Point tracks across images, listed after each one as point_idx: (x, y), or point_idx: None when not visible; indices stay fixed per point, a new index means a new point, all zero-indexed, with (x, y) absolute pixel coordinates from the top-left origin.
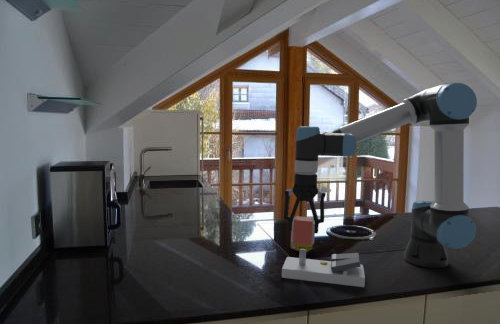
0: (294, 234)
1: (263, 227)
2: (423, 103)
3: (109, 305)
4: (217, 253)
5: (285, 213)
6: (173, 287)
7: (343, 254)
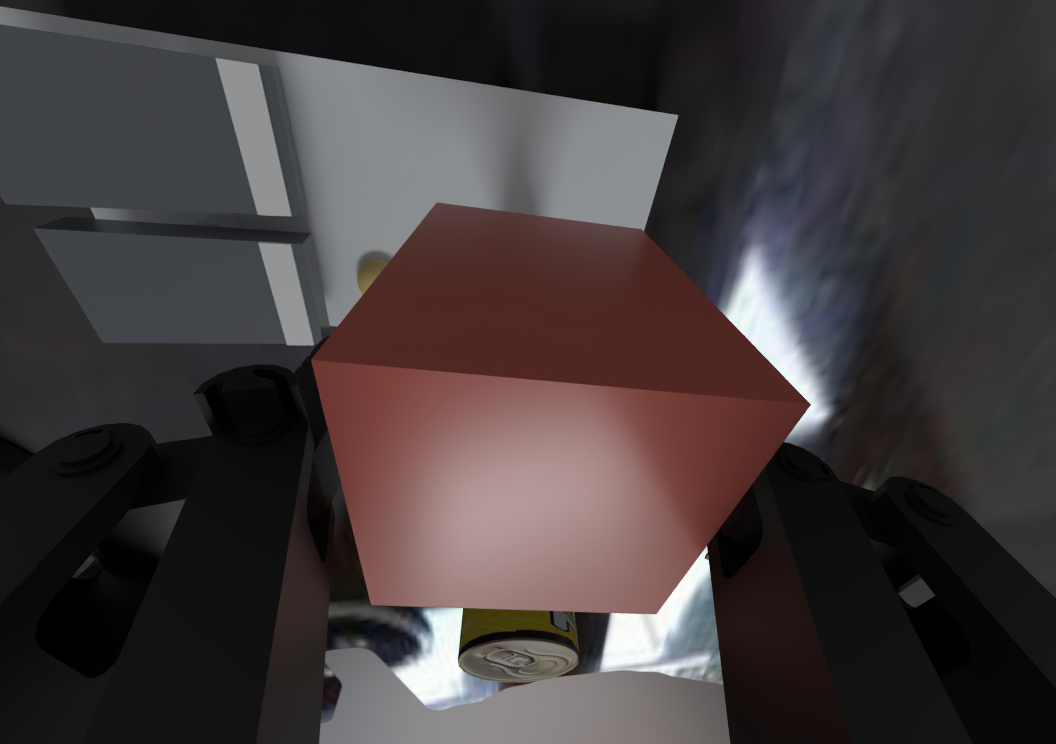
0: (660, 266)
1: (642, 630)
2: None
3: None
4: (916, 408)
5: (1034, 609)
6: None
7: (225, 328)
